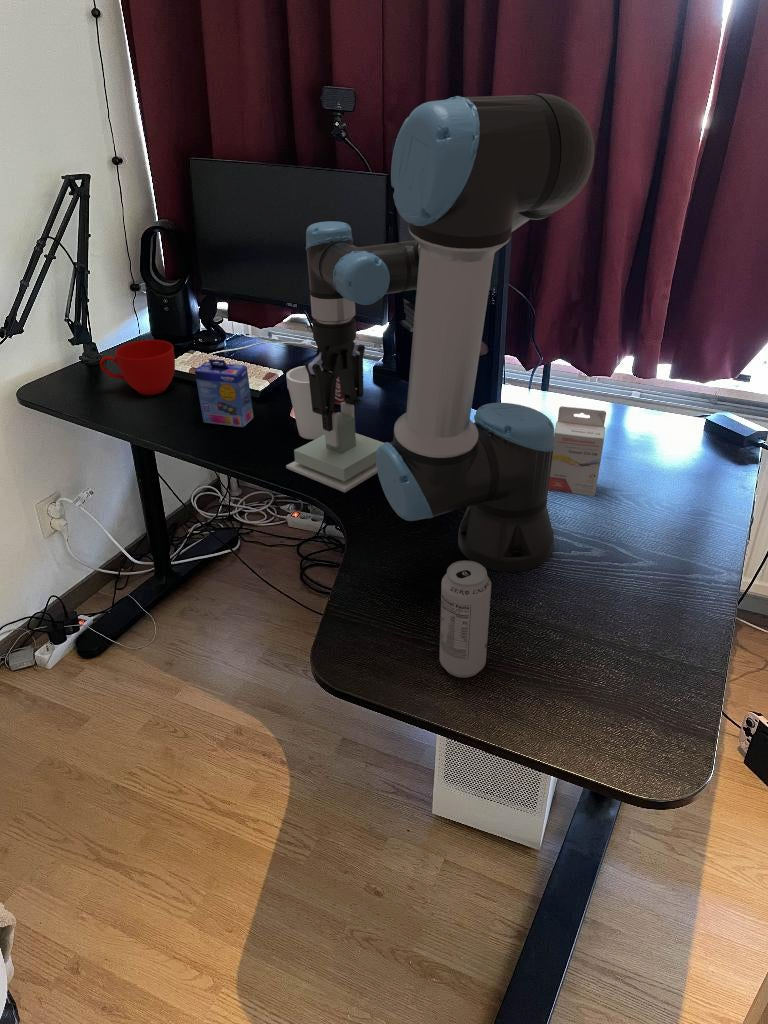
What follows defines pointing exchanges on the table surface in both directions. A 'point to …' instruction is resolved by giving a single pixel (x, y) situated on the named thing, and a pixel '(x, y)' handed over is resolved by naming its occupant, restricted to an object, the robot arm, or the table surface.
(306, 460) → the cover lid
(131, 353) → the ceramic cup
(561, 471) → the ink cartridge box
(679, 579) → the table surface
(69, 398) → the table surface
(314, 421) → the foam cup
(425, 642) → the table surface
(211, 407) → the ink cartridge box
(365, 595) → the table surface
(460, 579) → the energy drink can
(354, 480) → the grey mat
